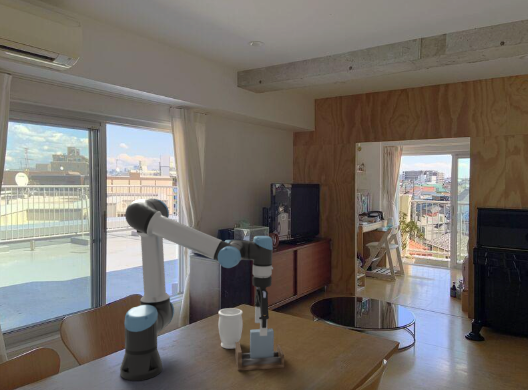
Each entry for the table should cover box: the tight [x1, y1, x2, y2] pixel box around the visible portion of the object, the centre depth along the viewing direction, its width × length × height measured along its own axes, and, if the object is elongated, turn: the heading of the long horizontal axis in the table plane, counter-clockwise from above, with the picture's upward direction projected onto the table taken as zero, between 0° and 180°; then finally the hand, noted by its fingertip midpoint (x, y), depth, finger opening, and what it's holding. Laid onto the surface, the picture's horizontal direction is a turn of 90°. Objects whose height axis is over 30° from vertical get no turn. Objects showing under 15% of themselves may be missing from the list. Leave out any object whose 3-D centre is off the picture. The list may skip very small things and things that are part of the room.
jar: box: [218, 307, 243, 350], centre depth 173 cm, size 11×10×15 cm
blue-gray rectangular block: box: [249, 328, 275, 359], centre depth 156 cm, size 9×3×12 cm, turn 99°
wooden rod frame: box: [234, 341, 285, 372], centre depth 156 cm, size 18×10×7 cm, turn 99°
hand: (260, 328), depth 156 cm, fingers open, 13 cm apart
